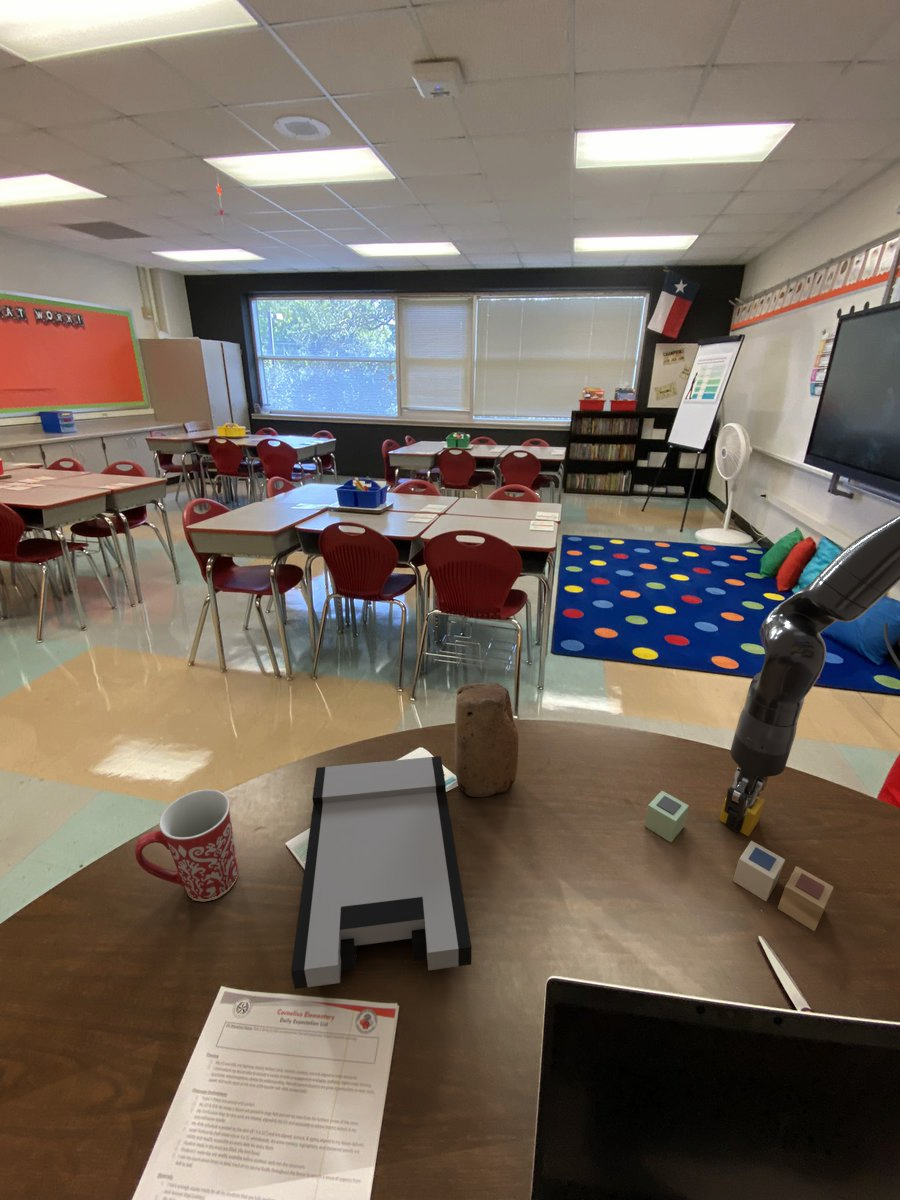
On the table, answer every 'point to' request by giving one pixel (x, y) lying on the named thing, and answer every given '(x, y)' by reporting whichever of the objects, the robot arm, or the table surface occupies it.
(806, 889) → the block
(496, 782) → the block
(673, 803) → the block
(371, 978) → the table surface
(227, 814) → the mug
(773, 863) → the block
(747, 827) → the yellow block
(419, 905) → the grey notched sloped slab
